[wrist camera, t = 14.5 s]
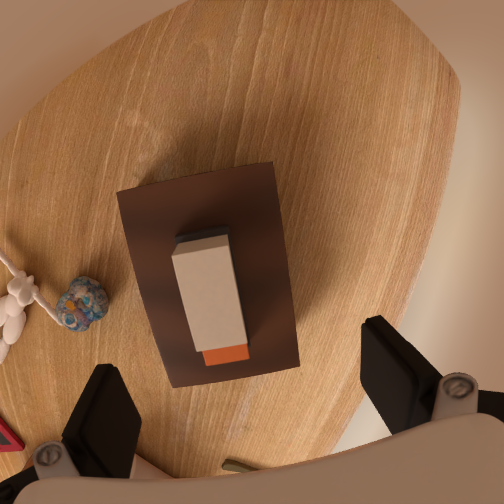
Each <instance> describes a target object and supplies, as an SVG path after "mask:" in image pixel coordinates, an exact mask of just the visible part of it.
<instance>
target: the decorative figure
mask: <svg viewBox="0 0 504 504" xmlns="http://www.w3.org/2000/svg"><path fill="white" fill-rule="evenodd" d="M0 260H1V261H2V262H3V263H4V264H5V265H7V267H8V269H9V270H10V272H11V273H12V274H13V275H14V276H15V277H14V279H12V280H11V281H10V282H9V283H8V285H7V290H8V292H9V294H8V295H6V296H3V297H1V298H0V327H1V326H2V325H3V324H4V323H5V324H4V328H3V337H2V338H1V339H0V364H1V363H2V362H3V361H4V359H5V357H6V356H7V354H8V351H9V349H10V345H11V344H13V343H15V342H16V341H17V340H18V338H19V337H20V335H21V333H22V331H23V328H24V325H25V323H26V314H25V312H24V311H23V310H24V307H25V306H26V305H29V304H31V303H33V301H34V300H36V301H37V302H38V303H39V304H40V305H41V306H42V307H43V308H45V309H46V311H47V312H48V314H49V315H50V316H51V317H52V318H53V319H54V320H55V321H56V322H57V323H58V324H59V325H62V324H61V323H60V322H59V320H58V318H57V316H56V310H55V309H54V308H53V307H52V306H51V304H50V303H49V302H47V301H46V300H45V298H44V297H43V296H42V295H41V294H40V293H39V288H38V286H36V285H34V283H33V282H34V276H32V275H31V276H29V277H27V276H26V272H25V271H19V269H18V268H17V267H16V266H15V265H14V264H13V263H12V260H10V259H9V258H8V256H7V255H6V254H5V252H4V251H3V250H2V249H1V248H0ZM9 315H10V316H9Z"/></svg>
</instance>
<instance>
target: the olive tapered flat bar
mask: <svg viewBox="0 0 504 504" xmlns="http://www.w3.org/2000/svg"><path fill="white" fill-rule="evenodd" d="M222 470H228V471H234V472H240V473H244V472H251V471H257V470H258V469H256V468H253V467H250V466H247V465H245V464H242V463H239V462H237V461H232V460H225V461H224V463H223V465H222Z"/></svg>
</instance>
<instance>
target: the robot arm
mask: <svg viewBox="0 0 504 504" xmlns="http://www.w3.org/2000/svg"><path fill="white" fill-rule="evenodd" d="M360 381H361V384H362V387H363V388H364V390H365V391H366V393H367V395H368V396H369V398H370V399H371V401H372V403H373V404H374V406H375V408H376V409H377V411H378V413H379V414H380V416H381V417H382V419H383V420H384V422H385V424H386V426H387V427H388V429H389V431H390V432H391V434H392V436H389V437H386V438H383V439H380V440H377V441H374V442H371V443H368V444H365V445H362V446H358V447H355V448H352V449H349V450H346V451H342V452H339V453H335V454H331V455H328V456H324V457H320V458H316V459H312V460H308V461H303V462H299V463H294V464H290V465H285V466H280V467H274V468H269V469H263V470H257V471H251V472H244V473H236V474H228V475H219V476H208V477H196V478H178V479H130V474H131V469H132V464H133V460H134V455H135V450H136V446H137V442H138V437H139V433H140V429H141V424H142V421H141V417H140V414H139V412H138V410H137V408H136V406H135V404H134V402H133V400H132V398H131V396H130V394H129V392H128V390H127V388H126V386H125V383H124V381H123V379H122V377H121V375H120V372H119V370H118V368H117V367H114V366H113V365H112V364H110V363H109V364H98V365H97V366H96V367H95V369H94V371H93V373H92V375H91V376H90V378H89V380H88V382H87V384H86V386H85V388H84V390H83V392H82V394H81V396H80V398H79V400H78V402H77V404H76V406H75V408H74V410H73V412H72V414H71V416H70V418H69V420H68V422H67V425H66V427H65V429H64V431H63V433H62V435H61V436H62V437H63V439H62V441H61V442H59V441H55V440H51V441H47V442H44V443H42V444H41V445H39V446H38V447H37V448H36V449H35V451H34V453H33V457H32V459H33V464H34V465H33V466H31V467H29V468H27V469H25V470H23V471H21V472H20V473H18V474H16V475H14V476H12V477H10V478H8V479H6V480H4V481H2V482H1V483H0V504H504V393H503V392H493V391H484V390H478V383H477V382H476V380H475V379H474V378H473V377H471V376H470V375H468V374H465V373H460V372H459V373H451V374H448V375H446V376H444V377H443V376H442V375H441V374H440V373H439V372H438V371H437V370H436V369H435V368H434V367H433V366H432V365H431V364H430V363H429V361H427V359H425V357H423V355H422V354H421V353H420V352H419V351H418V350H417V349H416V348H415V347H414V346H413V345H412V344H411V343H409V342H408V341H406V340H405V339H404V338H403V337H402V336H401V335H400V334H399V333H398V332H397V331H396V330H395V329H394V328H393V327H392V326H391V325H390V324H389V323H388V322H387V321H386V320H385V319H384V318H383V317H382V316H381V315H378V316H374V317H371V318H367V319H366V320H365V323H363V324H362V326H361V369H360Z"/></svg>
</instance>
